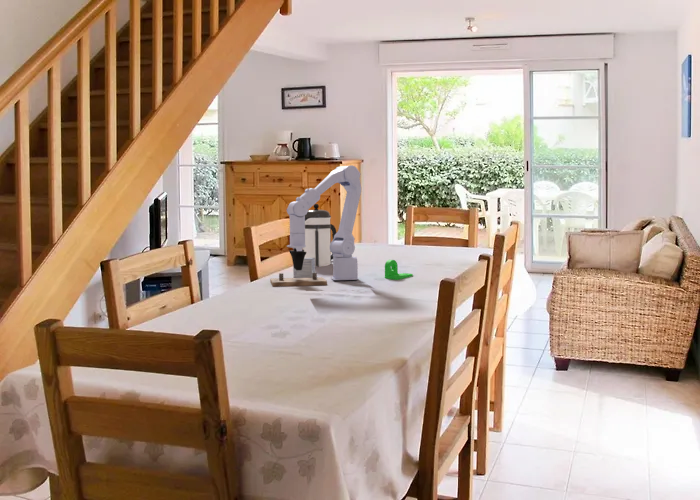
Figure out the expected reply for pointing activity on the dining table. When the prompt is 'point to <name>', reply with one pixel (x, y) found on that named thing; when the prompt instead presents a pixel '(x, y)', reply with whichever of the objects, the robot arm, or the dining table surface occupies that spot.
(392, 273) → the mechanical part
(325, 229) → the coffee press
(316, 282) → the walnut board
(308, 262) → the medicine box
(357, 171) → the robot arm
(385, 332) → the dining table surface
